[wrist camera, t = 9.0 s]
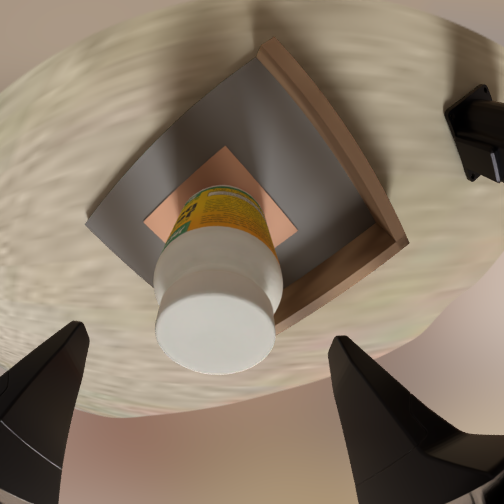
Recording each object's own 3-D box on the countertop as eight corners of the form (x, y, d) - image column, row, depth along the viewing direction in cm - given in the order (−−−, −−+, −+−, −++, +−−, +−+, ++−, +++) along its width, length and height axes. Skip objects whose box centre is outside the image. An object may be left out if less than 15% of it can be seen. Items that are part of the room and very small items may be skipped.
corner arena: (265, 51, 12) (274, 36, 9) (384, 221, 18) (409, 243, 15) (88, 221, 17) (64, 244, 14) (220, 334, 22) (219, 367, 19)
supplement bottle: (247, 271, 19) (259, 394, 10) (171, 248, 17) (129, 366, 9) (279, 199, 16) (327, 300, 8) (193, 170, 15) (145, 249, 7)
